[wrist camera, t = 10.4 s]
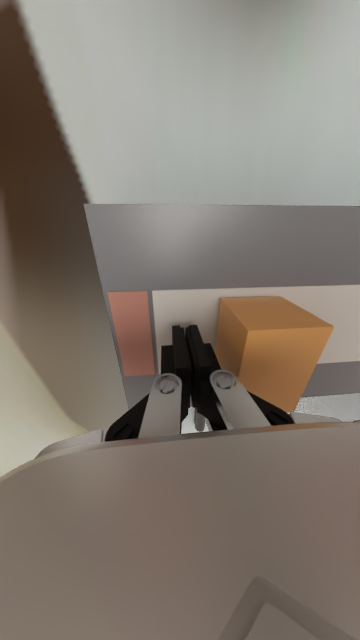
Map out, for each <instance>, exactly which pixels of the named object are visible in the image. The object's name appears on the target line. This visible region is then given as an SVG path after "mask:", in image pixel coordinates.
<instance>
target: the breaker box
mask: <svg viewBox="0 0 360 640" xmlns="http://www.w3.org/2000/svg"><path fill="white" fill-rule="evenodd" d="M84 208H85V212H86V217H87V221H88V226H89V231H90V235H91V240H92V244H93V249H94V253H95V258H96V263H97V267H98V272H99V276H100V281H101V285H102V290H103V294H104V299H105V304H106V308H107V313H108V317H109V322H110V326H111V331H112V335H113V340H114V344H115V349H116V353H117V358H118V362H119V367H120V372H121V376H122V381H123V385H124V389H125V394H126V399H127V404H128V408H129V410H130V409H131V408H132V407H133V406H135V405H136V404H137V403H138V402H139V401H140V400H142V399H143V398H144V397H145V396H146V395H148V394H149V393H150V390H151V387H152V383H153V381H154V379H155V378H156V377H157V376H159V375H161V346H162V345H172V326H177V325H180V327H183V328H184V333H185V329H186V327H188V326H189V325H197V326H198V329H199V332H200V334H201V337H202V340H203V343H211V345H212V348H213V350H214V353H215V345H216V336H217V328H218V319H219V310H220V301H221V298H243V297H273V296H281V297H283V298H285V299H287V300H288V301H290V302H292V303H294V304H295V305H297V306H299V307H301V308H302V309H304V310H306V311H308V312H310V313H311V314H313V315H315V316H317V317H318V318H320V319H322V320H324V321H325V322H327V323H329V324H331V325H333V326H334V329H333V331H332V333H331V335H330V337H329V339H328V341H327V343H326V346H325V348H324V350H323V352H322V354H321V356H320V358H319V360H318V362H317V364H316V366H315V368H314V371H313V373H312V375H311V377H310V379H309V381H308V383H307V385H306V387H305V389H304V391H303V393H302V396H301V397H313V396H326V395H338V394H351V393H360V206H273V205H152V204H84ZM190 406H192V401H191V396H190ZM195 428H196V430H197V431H199V432H201V431H203V430H204V428H205V417H204V416H203V415H201V414H200V413H197V410H196V419H195Z"/></svg>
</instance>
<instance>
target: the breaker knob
mask: <svg viewBox="0 0 360 640" xmlns="http://www.w3.org/2000/svg"><path fill="white" fill-rule="evenodd" d="M333 329H334V326H333V325H331V324H329V323H327V322H325V321H324V320H322V319H320V318H318V317H317V316H315V315H313V314H311V313H310V312H308V311H306V310H304V309H302V308H301V307H299V306H297V305H295V304H294V303H292V302H290V301H288V300H287V299H285V298H283V297H281V296H273V297H243V298H221V301H220V310H219V319H218V328H217V336H216V345H215V355H216V357H217V360H218V362H219V365H220V367H221V369H222V370H227V371H230V372H232V373H233V374H235V375H236V376H237V378H238V379H239V380H240V382H241V383H242V385H243V386H244V387H245V389H246V390H247V391H249V392H250V393H252V394H254V395H256V396H258V397H260V398H262V399H263V400H265V401H267V402H269V403H271V404H273V405H275V406H276V407H278V408H280V409H282V410H283V411H285V412H294V410H295V408H296V406H297V404H298V402H299V400H300V398H301V396H302V393H303V391H304V389H305V387H306V385H307V383H308V381H309V379H310V377H311V375H312V373H313V371H314V368H315V366H316V364H317V362H318V360H319V358H320V356H321V354H322V352H323V350H324V348H325V346H326V343H327V341H328V339H329V337H330V335H331V333H332V331H333Z"/></svg>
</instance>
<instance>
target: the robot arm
mask: <svg viewBox="0 0 360 640" xmlns="http://www.w3.org/2000/svg"><path fill="white" fill-rule="evenodd" d="M190 396H191V401H192V406H193V407H196V410H197V413H200V414H201V415H203V416H204V417H205V420H206V424H207V426H208V429H209V432H198V433H187V434H181V430H182V421H183V420H184V419H185V418H186V416H187V415H188V408H190ZM0 640H360V423H355V422H343V421H341V420H339V419H336V418H332V417H324V416H317V415H310V414H302V413H295V412H290V414H287V413H286V412H285V411H283V410H282V409H280V408H278V407H276V406H275V405H273V404H271V403H269V402H267V401H265V400H263V399H262V398H260V397H258V396H256V395H254V394H252V393H250V392H249V391H247V390H246V389H245V387H244V386H243V385H242V383H241V382H240V380H239V379H238V378H237V376H236V375H235V374H233V373H232V372H230V371H227V370H222V369H221V367H220V365H219V362H218V360H217V357H216V355H215V353H214V350H213V348H212V345H211V343H203V340H202V337H201V334H200V332H199V329H198V326H197V325H189V326H188V327H186V329H185V333H184V328H183V327H180V325H177V326H172V345H162V346H161V375H159V376H157V377H156V378H155V379H154V381H153V383H152V387H151V390H150V393H149V394H148V395H146V396H145V397H144V398H143V399H142V400H140V401H139V402H138V403H137V404H136V405H135V406H133V407H132V408H131V409H130V410H129V411H128V412H126V413H125V414H124V415H123V416H122V417H120V418H119V419H118V420H117V421H116V422H114V423H113V424H112V425H111V426H110V428H109V429H106V430H102V428H101V429H98V430H95V431H91V432H88V433H85V434H82V435H78V436H75V437H72V438H69V439H65V440H62V441H59V442H56V443H53V444H51V445H49V446H47V447H46V448H45V449H43V450H42V451H41V452H40V453H39V454H38V455H37V456H36V458H35V459H33V460H31V461H29V462H27V463H25V464H23V465H21V466H19V467H17V468H15V469H13V470H11V471H10V472H8V473H7V474H5V475H3V476H2V477H0Z"/></svg>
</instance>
